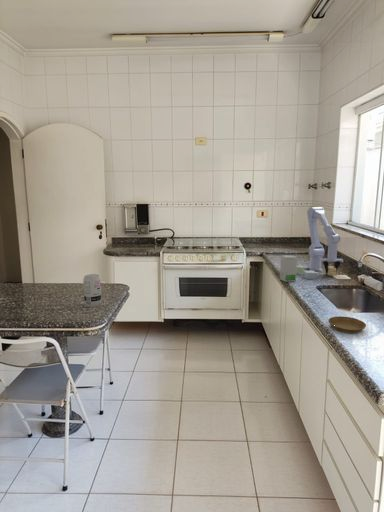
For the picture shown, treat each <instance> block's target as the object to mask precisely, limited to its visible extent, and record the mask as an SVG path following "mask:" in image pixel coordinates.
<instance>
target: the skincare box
mask: <svg viewBox="0 0 384 512" xmlns="http://www.w3.org/2000/svg"><path fill="white" fill-rule="evenodd" d="M297 264H298V256H296V255H293V254H292V255H280V270H279V280H280V281H282V282H284V283H286V282H289V283H290V282H296V281H297V274H296V268H297V266H298V265H297Z"/></svg>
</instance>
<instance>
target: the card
mask: <svg viewBox="0 0 384 512" xmlns="http://www.w3.org/2000/svg"><path fill="white" fill-rule="evenodd" d="M331 277H333V279H335V280H349V281H350V280H352V278H351V277H349V276H348V275H346V274H336V275H332V276H331Z"/></svg>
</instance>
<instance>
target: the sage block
mask: <svg viewBox="0 0 384 512" xmlns="http://www.w3.org/2000/svg"><path fill="white" fill-rule="evenodd" d="M303 271H306V267H305V266H304V265H297V268H296V275H301V276H303Z"/></svg>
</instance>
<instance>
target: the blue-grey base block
mask: <svg viewBox="0 0 384 512" xmlns="http://www.w3.org/2000/svg"><path fill="white" fill-rule="evenodd" d="M302 277H303V278H304V279H307V280H312V279H313V280H317V279H318V272H317V271H313V270H310V269H309V270H305V271H303V275H302Z"/></svg>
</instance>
